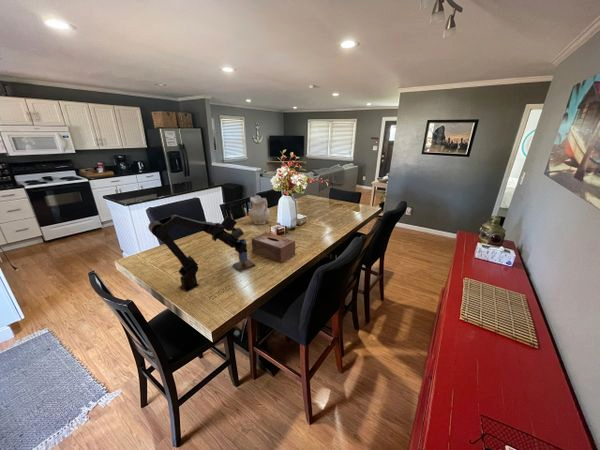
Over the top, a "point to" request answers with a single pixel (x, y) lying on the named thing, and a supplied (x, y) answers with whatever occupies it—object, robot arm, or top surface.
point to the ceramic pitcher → (259, 210)
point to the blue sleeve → (243, 253)
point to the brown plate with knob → (243, 265)
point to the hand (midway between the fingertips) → (244, 249)
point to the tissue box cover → (273, 246)
